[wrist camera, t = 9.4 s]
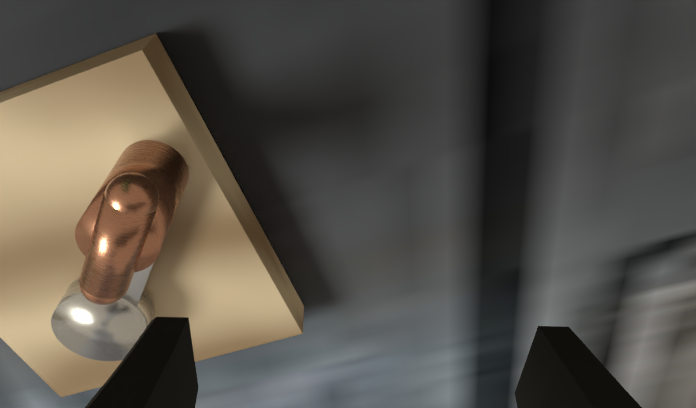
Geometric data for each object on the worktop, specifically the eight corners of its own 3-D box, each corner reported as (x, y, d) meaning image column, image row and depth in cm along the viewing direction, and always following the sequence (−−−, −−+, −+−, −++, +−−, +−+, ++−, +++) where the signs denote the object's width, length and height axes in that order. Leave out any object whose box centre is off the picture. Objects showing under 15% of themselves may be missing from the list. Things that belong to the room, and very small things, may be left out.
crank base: (304, 306, 23) (302, 333, 22) (74, 368, 25) (60, 397, 24) (155, 33, 17) (142, 50, 16) (-139, 144, 19) (-172, 166, 17)
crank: (142, 345, 22) (99, 464, 18) (57, 321, 21) (-8, 440, 17) (233, 122, 17) (201, 218, 13) (125, 77, 16) (54, 165, 12)
